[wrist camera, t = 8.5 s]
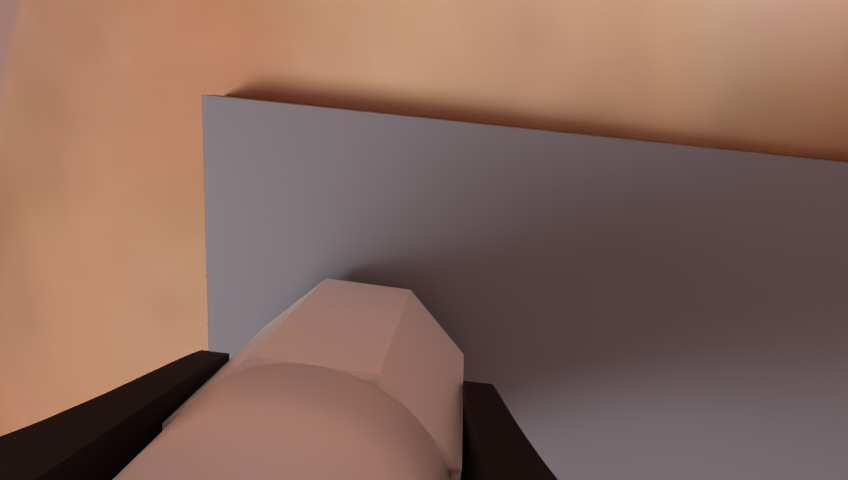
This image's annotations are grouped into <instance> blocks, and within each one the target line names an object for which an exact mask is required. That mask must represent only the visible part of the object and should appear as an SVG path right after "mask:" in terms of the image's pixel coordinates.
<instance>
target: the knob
mask: <svg viewBox="0 0 848 480" xmlns="http://www.w3.org/2000/svg"><path fill="white" fill-rule="evenodd" d="M463 372H464V354H463V353H462V352H461V350H460V349H459V348H458V347H457V345H456V344H455V343H454V342H453V341H452V339H451V338H450V337H449V336H448V335H447V333H446V332H445V331H444V330H443V328H442V327H441V326H440V325H439V324H438V322H437V321H436V320H435V319H434V317H433V316H432V315H431V314H430V313H429V311H428V310H427V309H426V308H425V307H424V305H423V304H422V303H421V302H420V300H419V299H418V298H417V297H416V296H415V294H414V293H413V292H412V291H411V290H410V289H402V288H395V287H387V286H380V285H372V284H365V283H357V282H350V281H342V280H335V279H327V278H326V279H325V280H323V281H322V282H321V283H319V284H318V285H317V286H316V287H314V288H313V289H312V290H311V291H309V292H308V293H307V294H306V295H304V296H303V297H302V298H300V299H299V300H298V301H297V302H295V303H294V304H293V305H292V306H290V307H289V308H288V309H287V310H285V311H284V312H283V313H281V314H280V315H279V316H278V317H276V318H275V319H274V320H273V321H271V322H270V323H269V324H268V325H266V326H265V327H264V328H263V329H262V330H261V331H260V332H258V333H257V334H256V335H255V336H254V337H253V338H252V339H251V340H250V341H249V342H248V343H247V344H246V345H245V346H244V347H243V348H242V349H240V350H239V351H238V352H237V353H236V354H235V355H234V356H233V357H232V358H231V359H230V360H229V361H228V362H227V363H226V364H225V365H224V366H223V367H221V368H220V369H219V370H218V371H217V372H216V373H215V374H214V375H213V376H212V377H211V378H210V379H209V380H208V381H207V382H206V383H205V384H203V385H202V386H201V387H200V388H199V389H198V390H197V391H196V392H195V393H194V394H193V395H192V396H191V397H190V398H189V399H188V400H187V401H185V402H184V403H183V404H182V405H181V406H180V407H179V408H178V409H177V410H176V411H175V412H174V413H173V414H172V415H171V416H170V417H169V418H168V419H166V420H165V421H164V422H163V423H162V432H161V433H160V434H159V435H158V436H157V437H156V438H155V439H154V440H153V441H152V442H151V443H150V444H149V445H147V446H146V447H145V448H144V449H143V450H142V451H141V452H140V453H139V454H138V455H137V456H136V457H135V458H134V459H133V460H132V461H131V462H130V463H129V464H128V465H127V466H126V467H125V468H124V469H123V470H122V471H121V472H120V473H119V474H118V475H117V476H116V477H115V478H113V479H112V480H460V478H461V471H462V432H463V387H462V386H463Z"/></svg>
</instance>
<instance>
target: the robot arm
mask: <svg viewBox="0 0 848 480" xmlns="http://www.w3.org/2000/svg"><path fill="white" fill-rule="evenodd" d="M228 361H229V353H221V352H212V351H204V350H201V351H198V352H195V353H192V354H190V355H187V356H185V357H183V358H180V359H178V360H176V361H174V362H172V363H169V364H167V365H165V366H163V367H161V368H159V369H157V370H154V371H152V372H150V373H148V374H146V375H144V376H142V377H139V378H137V379H135V380H133V381H131V382H129V383H127V384H124V385H122V386H120V387H118V388H116V389H114V390H112V391H109V392H107V393H105V394H103V395H101V396H98V397H96V398H94V399H91V400H89V401H87V402H84V403H82V404H80V405H77V406H75V407H73V408H70V409H68V410H66V411H63V412H61V413H59V414H56V415H54V416H52V417H49V418H47V419H45V420H42V421H40V422H37V423H35V424H32V425H30V426H27V427H25V428H22V429H19V430H17V431H14V432H12V433H9V434H6V435H3V436H1V437H0V480H112V479H113V478H115V477H116V476H117V475H118V474H119V473H120V472H121V471H122V470H123V469H124V468H125V467H126V466H127V465H128V464H129V463H130V462H131V461H132V460H133V459H134V458H135V457H136V456H137V455H138V454H139V453H140V452H141V451H142V450H143V449H144V448H145V447H146V446H147V445H149V444H150V443H151V442H152V441H153V440H154V439H155V438H156V437H157V436H158V435H159V434H160V433H161V432H162V423H163V422H164V421H165V420H166V419H168V418H169V417H170V416H171V415H172V414H173V413H174V412H175V411H176V410H177V409H178V408H179V407H180V406H181V405H182V404H183V403H184V402H185V401H187V400H188V399H189V398H190V397H191V396H192V395H193V394H194V393H195V392H196V391H197V390H198V389H199V388H200V387H201V386H202V385H203V384H205V383H206V382H207V381H208V380H209V379H210V378H211V377H212V376H213V375H214V374H215V373H216V372H217V371H218V370H219V369H220V368H221V367H223V366H224V365H225V364H226V363H227V362H228ZM462 387H463V432H462V471H461V478H460V480H558V479H557V478H556V477H555V475H554V474H553V473H552V472H551V470H550V469H549V468H548V466H547V465H546V464H545V462H544V461H543V460H542V458H541V457H540V456H539V454H538V453H537V451H536V450H535V448H534V447H533V446H532V444H531V443H530V441H529V440H528V439H527V437H526V436H525V434H524V433H523V431H522V430H521V428H520V427H519V425H518V424H517V422H516V421H515V419H514V417H513V416H512V414H511V413H510V411H509V409H508V408H507V406H506V405H505V403H504V401H503V400H502V398H501V396H500V394H499V393H498V391H497V389H496V388H495V387H494V385H493V384H488V383H479V382H471V381H463V386H462Z"/></svg>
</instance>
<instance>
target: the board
mask: <svg viewBox="0 0 848 480" xmlns="http://www.w3.org/2000/svg"><path fill="white" fill-rule="evenodd" d="M202 121H203V158H204V194H205V231H206V268H207V304H208V341H209V351H212V352H221V353H229V360H230V359H231V358H232V357H233V356H234V355H235V354H236V353H237V352H238V351H239V350H240V349H242V348H243V347H244V346H245V345H246V344H247V343H248V342H249V341H250V340H251V339H252V338H253V337H254V336H255V335H256V334H257V333H258V332H260V331H261V330H262V329H263V328H264V327H265V326H266V325H268V324H269V323H270V322H271V321H273V320H274V319H275V318H276V317H278V316H279V315H280V314H281V313H283V312H284V311H285V310H287V309H288V308H289V307H290V306H292V305H293V304H294V303H295V302H297V301H298V300H299V299H300V298H302V297H303V296H304V295H306V294H307V293H308V292H309V291H311V290H312V289H313V288H314V287H316V286H317V285H318V284H319V283H321V282H322V281H323V280H325V279H326V278H327V279H335V280H342V281H350V282H357V283H365V284H372V285H380V286H387V287H395V288H402V289H410V290H411V291H412V292H413V293H414V294H415V296H416V297H417V298H418V299H419V300H420V302H421V303H422V304H423V305H424V307H425V308H426V309H427V310H428V311H429V313H430V314H431V315H432V316H433V317H434V319H435V320H436V321H437V322H438V324H439V325H440V326H441V327H442V328H443V330H444V331H445V332H446V333H447V335H448V336H449V337H450V338H451V339H452V341H453V342H454V343H455V344H456V345H457V347H458V348H459V349H460V350H461V352H462V353H463V354H464V372H463V381H471V382H479V383H488V384H493V385H494V387H495V388H496V389H497V391H498V393H499V394H500V396H501V398H502V400H503V401H504V403H505V405H506V406H507V408H508V409H509V411H510V413H511V414H512V416H513V417H514V419H515V421H516V422H517V424H518V425H519V427H520V428H521V430H522V431H523V433H524V434H525V436H526V437H527V439H528V440H529V441H530V443H531V444H532V446H533V447H534V448H535V450H536V451H537V453H538V454H539V456H540V457H541V458H542V460H543V461H544V462H545V464H546V465H547V466H548V468H549V469H550V470H551V472H552V473H553V474H554V475H555V477H556V478H557V479H558V480H848V162H844V161H835V160H825V159H816V158H806V157H797V156H788V155H778V154H769V153H759V152H750V151H740V150H731V149H722V148H712V147H703V146H693V145H684V144H674V143H665V142H656V141H646V140H637V139H627V138H618V137H608V136H599V135H590V134H580V133H571V132H561V131H552V130H542V129H533V128H524V127H514V126H505V125H495V124H486V123H477V122H467V121H458V120H448V119H439V118H429V117H420V116H411V115H401V114H392V113H382V112H373V111H363V110H354V109H345V108H335V107H326V106H316V105H307V104H297V103H288V102H279V101H269V100H260V99H250V98H241V97H231V96H221V95H202Z"/></svg>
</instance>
